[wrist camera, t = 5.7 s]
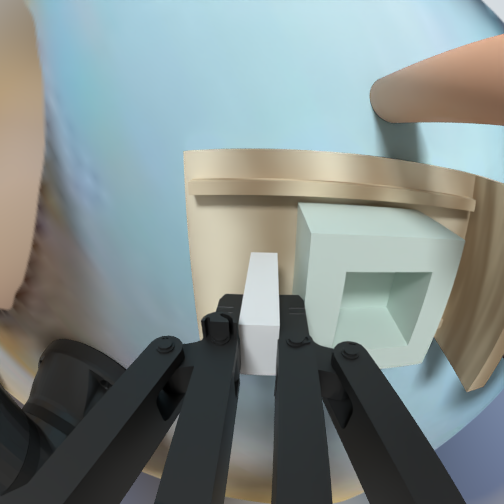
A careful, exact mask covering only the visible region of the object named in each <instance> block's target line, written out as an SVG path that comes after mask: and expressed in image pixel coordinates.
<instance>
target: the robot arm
mask: <svg viewBox="0 0 504 504" xmlns="http://www.w3.org/2000/svg"><path fill="white" fill-rule="evenodd" d="M201 326H202V333H203V339H202V340H200V341H198V342H194V343H188V344H182V342H181V341H180V339H178V338H176V337H174V336H162V337H159V338H157V339H155V340H154V341H152V342H151V343H150V344H149V345H148V347H147V348H146V349H145V350H144V351H143V352H142V353H141V354H140V355H139V357H138V358H137V359H136V360H135V361H134V362H133V363H132V364H131V365H130V367H129V368H128V369H127V370H125V369H124V368H122V367H121V366H120V365H119V364H117V363H116V362H114V361H113V360H112V359H110V358H109V357H107V356H106V355H104V354H102V353H101V352H99V351H97V350H95V349H93V348H91V347H89V346H87V345H85V344H82V343H80V342H77V341H73V340H67V339H59V340H55V341H53V342H52V343H51V344H50V345H49V346H48V347H47V349H46V350H45V351H44V352H43V354H42V355H41V357H40V360H39V364H38V368H39V369H38V372H37V374H36V376H35V379H34V382H33V385H32V389H31V392H30V396H29V399H28V400H27V402H26V403H25V405H24V407H23V408H22V409H21V408H20V407H19V406H18V405H17V403H16V402H15V401H14V400H13V399H12V398H11V396H10V395H9V394H8V393H7V391H6V390H5V389H4V388H3V386H2V385H1V384H0V504H120V502H121V501H122V499H123V498H124V496H125V495H126V493H127V492H128V491H129V489H130V488H131V486H132V485H133V483H134V482H135V480H136V479H137V477H138V476H139V474H140V473H141V471H142V470H143V468H144V467H145V465H146V464H147V462H148V461H149V459H150V458H151V456H152V455H153V453H154V452H155V450H156V449H157V447H158V446H159V444H160V442H161V441H162V439H163V438H164V436H165V435H166V433H167V432H168V430H169V429H170V427H171V426H172V424H173V422H174V421H175V419H176V418H177V416H178V415H179V413H180V415H179V418H178V421H177V425H176V428H175V432H174V435H173V439H172V442H171V446H170V449H169V452H168V456H167V459H166V463H165V467H164V470H163V474H162V477H161V481H160V485H159V488H158V492H157V496H156V499H155V502H154V504H224V497H225V491H226V483H227V476H228V469H229V461H230V454H231V447H232V439H233V432H234V424H235V417H236V409H237V402H238V394H239V386H240V378H239V375H240V374H247V375H275V376H276V380H275V392H274V396H275V416H274V452H273V478H272V500H271V504H332V491H331V478H330V467H329V456H328V446H327V437H326V428H325V420H324V411H323V403H322V399H323V402H324V404H325V406H326V408H327V410H328V413H329V415H330V417H331V419H332V421H333V424H334V426H335V428H336V430H337V432H338V435H339V437H340V439H341V441H342V443H343V446H344V448H345V450H346V452H347V454H348V457H349V459H350V461H351V463H352V465H353V468H354V470H355V472H356V474H357V476H358V479H359V481H360V483H361V485H362V488H363V490H364V492H365V494H366V496H367V499H368V501H369V503H370V504H466V503H465V501H464V499H463V498H462V496H461V494H460V492H459V491H458V489H457V487H456V486H455V484H454V482H453V480H452V479H451V477H450V475H449V474H448V472H447V470H446V469H445V467H444V465H443V464H442V462H441V461H440V459H439V458H438V456H437V454H436V453H435V451H434V449H433V448H432V446H431V445H430V443H429V442H428V440H427V438H426V437H425V435H424V434H423V432H422V431H421V429H420V428H419V426H418V425H417V423H416V422H415V420H414V419H413V417H412V416H411V414H410V412H409V411H408V409H407V408H406V406H405V405H404V404H403V402H402V401H401V399H400V398H399V396H398V395H397V393H396V392H395V390H394V389H393V387H392V386H391V384H390V383H389V381H388V380H387V379H386V377H385V376H384V374H383V373H382V371H381V370H380V368H379V367H378V366H377V364H376V363H375V361H374V360H373V358H372V357H371V356H370V354H369V353H368V351H367V350H366V349H365V348H364V347H363V346H362V345H361V344H358V343H356V342H352V341H344V342H341V343H338V344H337V345H336V346H335V347H334V349H333V348H328V347H324V346H321V345H319V344H317V343H315V342H314V341H313V339H312V337H311V336H310V335H309V329H308V323H307V317H306V310H305V304H304V300H303V299H302V298H301V297H300V296H299V295H279V282H278V254H277V253H262V252H251V255H250V261H249V267H248V272H247V278H246V284H245V289H244V294H225V295H224V296H222V297H221V298H220V299H219V303H218V306H217V309H216V312H212V313H209V314H207V315H206V316H204V317H203V318H202V320H201Z"/></svg>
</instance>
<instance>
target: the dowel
mask: <svg viewBox="0 0 504 504" xmlns="http://www.w3.org/2000/svg"><path fill="white" fill-rule="evenodd" d="M370 102H371V105H372V107H373V109H374V111H375V112H376V114H377V115H378V116H379V117H380V118H382V119H383V120H385V121H387V122H390V123H417V122H452V123H476V124H491V125H502V126H504V34H502V35H498V36H494V37H490V38H487V39H483V40H480V41H477V42H473V43H470V44H467V45H464V46H461V47H458V48H455V49H452V50H449V51H446V52H444V53H441V54H438V55H435V56H433V57H430V58H428V59H425V60H423V61H420V62H418V63H415V64H413V65H410V66H408V67H405V68H403V69H401V70H398V71H396V72H394V73H392V74H389V75H387V76H385V77H383V78H381V79H378V80H377V81H376V82H375V83H374V84H373V85H372V87H371V90H370Z"/></svg>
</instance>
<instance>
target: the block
mask: <svg viewBox="0 0 504 504" xmlns="http://www.w3.org/2000/svg"><path fill="white" fill-rule="evenodd" d="M464 244H465V240H464V239H463V238H461V237H460V236H458V235H457V234H455V233H454V232H452V231H451V230H449V229H448V228H446V227H445V226H443V225H441V224H440V223H438V222H437V221H435V220H433V219H432V218H430V217H429V216H427V215H425V214H424V213H422V212H420V211H419V210H415V209H404V208H392V207H380V206H366V205H351V204H333V203H311V202H298V212H297V231H296V248H295V263H294V277H293V290H292V295H299V296H300V297H301V298H302V299H303V300H304V304H305V310H306V317H307V323H308V329H309V335H310V336H311V337H312V339H313V341H314V342H315V343H317V344H319V345H321V346H324V347H328V348H333V349H334V347H335V346H336V345H337V344H338V343H341V342H344V341H352V342H356V343H358V344H361V345H362V346H363V347H364V348H365V349H366V350H367V351H368V353H369V354H370V356H371V357H372V358H373V360H374V361H375V363H376V364H377V366H378V367H379V368H380V369H384V368H393V367H401V366H408V365H415V364H421V363H422V362H423V359H424V357H425V355H426V353H427V351H428V349H429V347H430V344H431V342H432V340H433V337H434V335H435V333H436V330H437V328H438V325H439V323H440V320H441V318H442V315H443V313H444V310H445V307H446V304H447V302H448V299H449V296H450V293H451V290H452V287H453V284H454V280H455V277H456V274H457V270H458V267H459V263H460V260H461V256H462V252H463V248H464Z"/></svg>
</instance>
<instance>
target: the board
mask: <svg viewBox="0 0 504 504" xmlns="http://www.w3.org/2000/svg"><path fill="white" fill-rule="evenodd" d="M183 152H184V177H185V196H186V211H187V225H188V238H189V249H190V260H191V270H192V279H193V288H194V297H195V305H196V313H197V321H198V328H199V335H200V340H202V339H203V333H202V326H201V320H202V318H203V317H204V316H206V315H207V314H209V313H212V312H216V309H217V306H218V303H219V299H220V298H221V297H222V296H224V295H225V294H244V289H245V284H246V278H247V272H248V267H249V261H250V255H251V252H262V253H277V254H278V282H279V295H292V290H293V277H294V263H295V248H296V231H297V212H298V202H311V203H333V204H351V205H366V206H380V207H392V208H404V209H415V210H419V211H420V212H422V213H424V214H425V215H427V216H429V217H430V218H432V219H433V220H435V221H437V222H438V223H440V224H441V225H443V226H445V227H446V228H448V229H449V230H451V231H452V232H454V233H455V234H457V235H458V236H460V237H461V238H463V239H464V240H465V244H464V248H463V252H462V256H461V260H460V263H459V267H458V270H457V274H456V277H455V280H454V284H453V287H452V290H451V293H450V296H449V299H448V302H447V304H446V307H445V310H444V313H443V315H442V318H441V320H440V323H439V325H438V328H437V330H436V333H435V335H434V338H435V340H436V341H437V343H438V344H439V346H440V348H441V349H442V351H443V352H444V354H445V356H446V357H447V359H448V361H449V362H450V364H451V366H452V367H453V369H454V371H455V372H456V374H457V376H458V378H459V379H460V381H461V383H462V385H463V386H464V388H465V390H466V392H469V391H472V390H475V389H478V388H481V387H484V385H485V384H486V382H487V381H488V379H489V378H490V376H491V374H492V373H493V371H494V370H495V368H496V366H497V365H498V363H499V361H500V360H501V358H502V356H503V355H504V183H501V182H498V181H495V180H492V179H489V178H486V177H483V176H479V175H475V174H471V173H467V172H463V171H458V170H454V169H449V168H444V167H439V166H434V165H429V164H423V163H418V162H412V161H406V160H399V159H392V158H385V157H377V156H369V155H360V154H350V153H339V152H327V151H312V150H292V149H208V150H189V151H183Z"/></svg>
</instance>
